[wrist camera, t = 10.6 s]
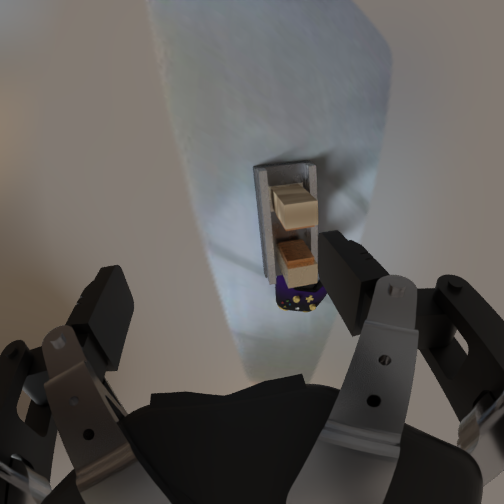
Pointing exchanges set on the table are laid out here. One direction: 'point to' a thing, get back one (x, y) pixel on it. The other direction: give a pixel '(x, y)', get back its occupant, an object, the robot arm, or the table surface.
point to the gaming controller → (298, 296)
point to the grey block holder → (273, 233)
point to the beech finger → (295, 207)
